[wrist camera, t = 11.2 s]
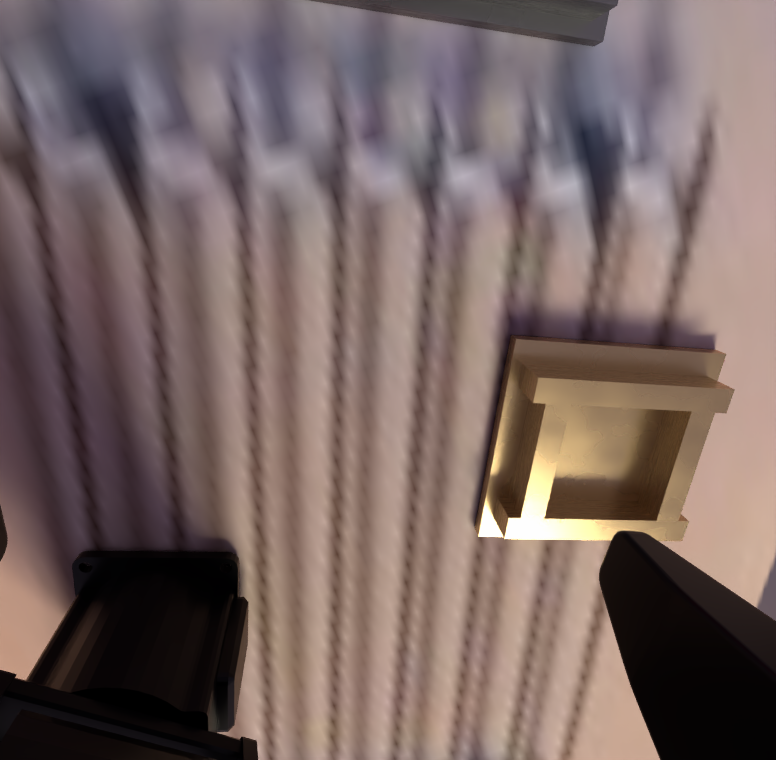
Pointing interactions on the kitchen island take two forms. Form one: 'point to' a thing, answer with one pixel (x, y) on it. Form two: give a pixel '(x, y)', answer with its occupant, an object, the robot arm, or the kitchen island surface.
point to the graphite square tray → (507, 15)
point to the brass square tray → (597, 438)
